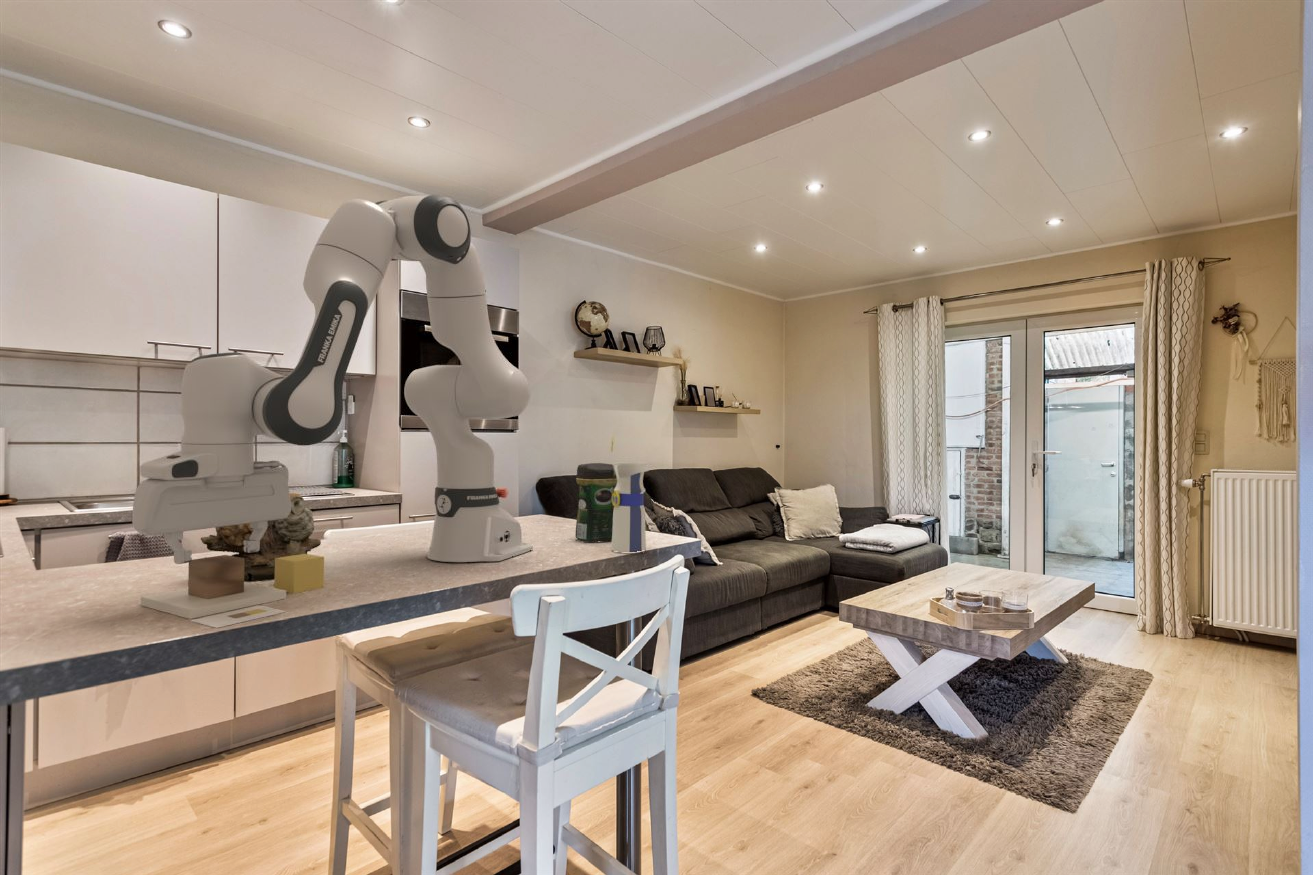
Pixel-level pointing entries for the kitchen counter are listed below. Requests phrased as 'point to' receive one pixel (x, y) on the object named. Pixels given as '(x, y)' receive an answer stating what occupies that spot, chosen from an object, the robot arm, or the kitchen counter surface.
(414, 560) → the kitchen counter surface
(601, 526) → the coffee jar
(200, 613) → the plate
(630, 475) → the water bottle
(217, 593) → the walnut block
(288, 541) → the three owls sculpture
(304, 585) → the mustard block
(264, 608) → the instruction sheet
